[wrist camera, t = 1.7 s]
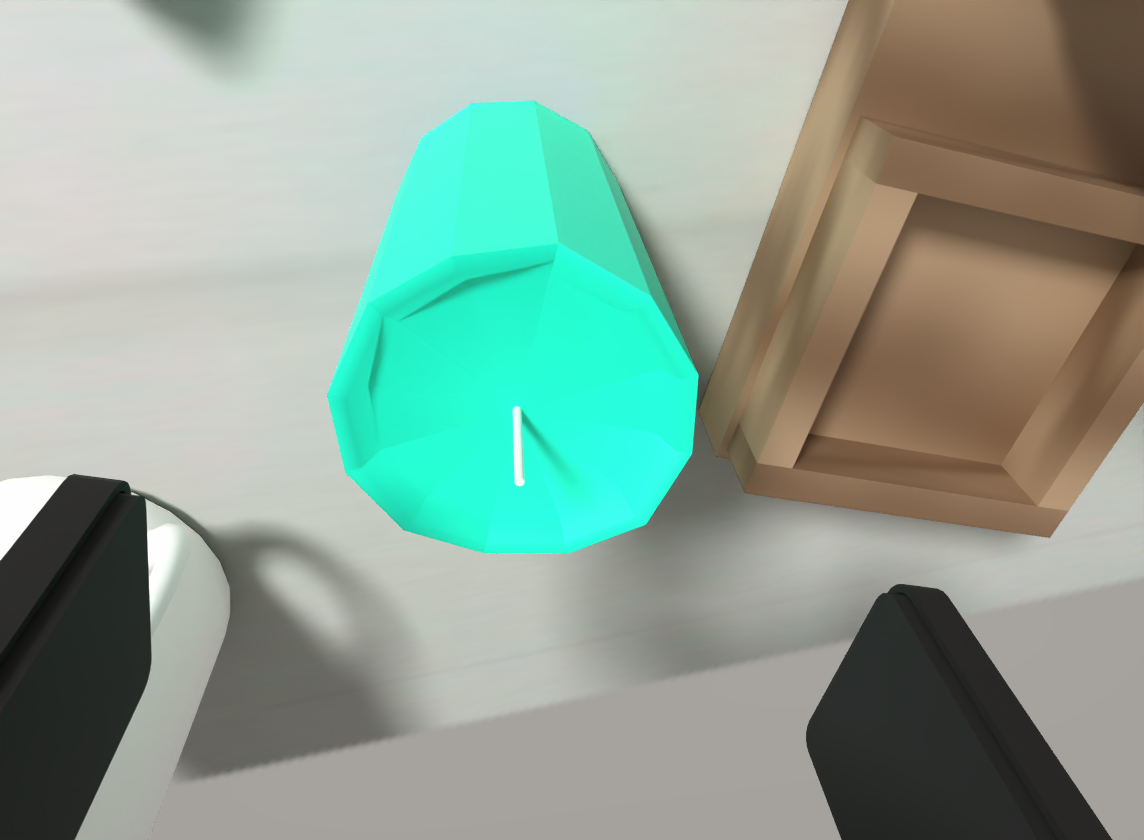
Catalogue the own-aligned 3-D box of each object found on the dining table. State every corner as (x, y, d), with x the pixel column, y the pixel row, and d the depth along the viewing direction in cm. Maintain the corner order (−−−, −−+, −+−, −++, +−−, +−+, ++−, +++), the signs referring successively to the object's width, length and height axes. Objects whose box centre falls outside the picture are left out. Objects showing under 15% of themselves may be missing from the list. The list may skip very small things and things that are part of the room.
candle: (666, 207, 22) (805, 463, 12) (519, 354, 24) (533, 677, 14) (499, 43, 20) (499, 193, 10) (351, 222, 22) (223, 501, 12)
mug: (-96, 614, 28) (-420, 1003, 18) (1, 349, 23) (-371, 684, 13) (179, 703, 31) (33, 1072, 21) (315, 487, 26) (206, 838, 16)
